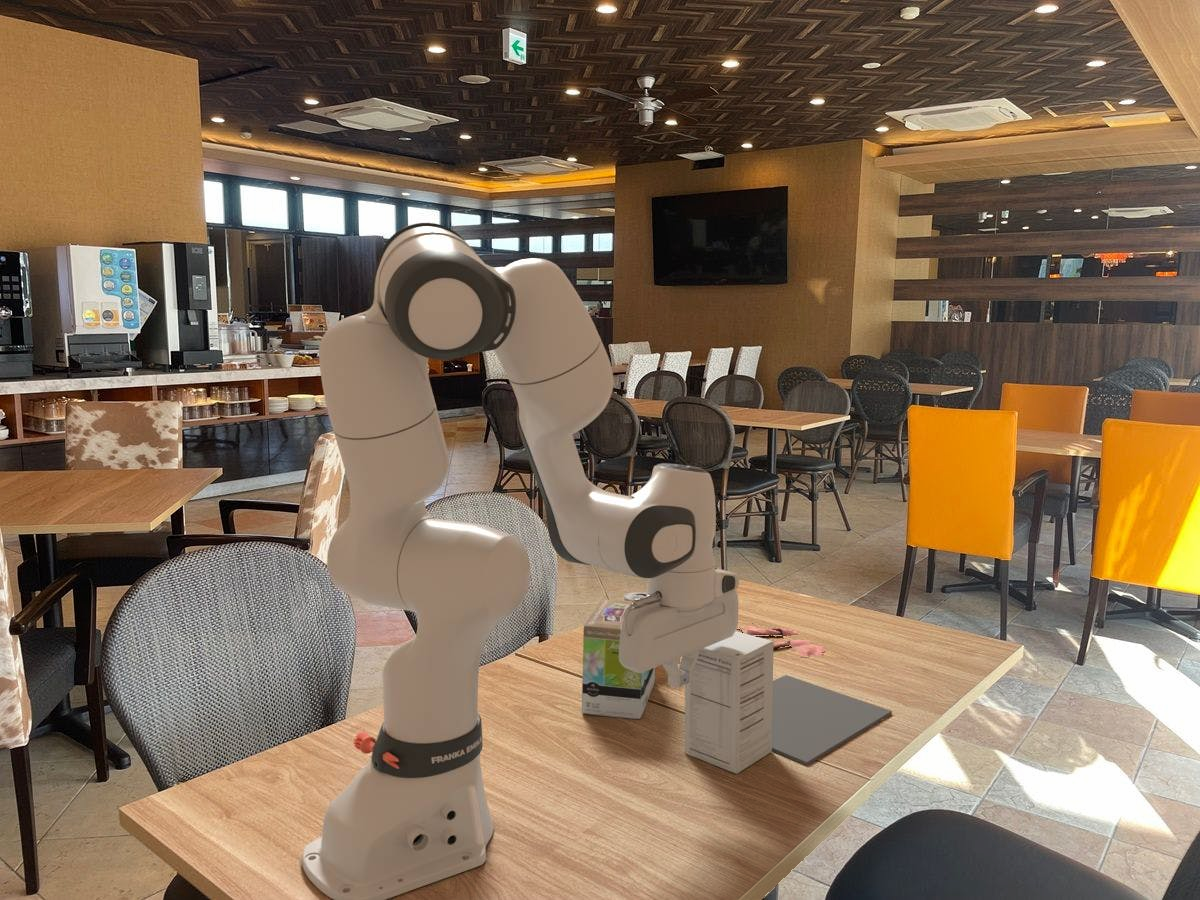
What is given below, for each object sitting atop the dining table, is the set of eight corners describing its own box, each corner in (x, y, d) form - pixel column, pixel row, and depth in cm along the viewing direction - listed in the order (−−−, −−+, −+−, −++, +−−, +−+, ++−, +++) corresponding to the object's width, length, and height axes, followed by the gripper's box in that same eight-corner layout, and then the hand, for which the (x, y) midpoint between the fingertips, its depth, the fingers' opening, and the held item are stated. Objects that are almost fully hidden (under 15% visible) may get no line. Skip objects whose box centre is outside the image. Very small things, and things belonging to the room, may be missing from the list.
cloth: (837, 663, 164) (838, 651, 163) (718, 663, 164) (718, 650, 164) (812, 626, 184) (813, 615, 183) (706, 625, 184) (707, 614, 184)
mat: (806, 765, 125) (806, 762, 125) (696, 719, 139) (697, 716, 139) (891, 713, 141) (891, 710, 141) (785, 677, 156) (785, 674, 155)
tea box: (643, 721, 139) (643, 630, 137) (580, 715, 141) (580, 625, 139) (656, 683, 153) (657, 600, 151) (599, 678, 155) (599, 596, 153)
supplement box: (773, 752, 129) (777, 640, 126) (737, 776, 122) (740, 658, 120) (719, 731, 135) (721, 625, 133) (681, 753, 128) (683, 641, 126)
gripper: (643, 608, 108) (643, 716, 110) (747, 573, 122) (745, 670, 124) (607, 596, 112) (607, 700, 114) (711, 564, 126) (709, 657, 128)
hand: (679, 684), depth 119 cm, fingers closed
